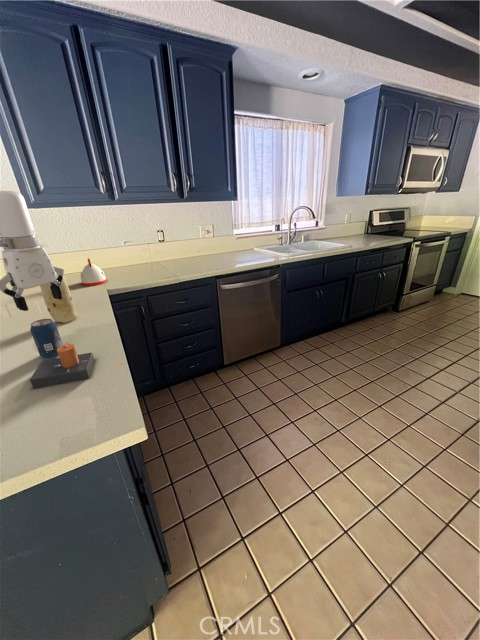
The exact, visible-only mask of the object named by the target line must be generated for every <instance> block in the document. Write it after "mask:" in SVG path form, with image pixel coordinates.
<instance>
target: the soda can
mask: <svg viewBox="0 0 480 640" xmlns="http://www.w3.org/2000/svg"><path fill="white" fill-rule="evenodd" d="M29 331H30V334H31V336H32V338H33V341H34V344H35V346H36V349H37V352H38V354H39V356H40V357H42V358H43V359H44V360H49V359H55V358H58V357H59V355H58V352H57V348H59V347H60V346H62V345H64V344H63V341H62V338H61V335H60V333H59V329H58V327H57V324H56V322H55V321H54V320H53V318H42V319H38V320H35V321H33V322H31V323H30V329H29Z"/></svg>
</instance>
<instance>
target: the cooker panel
mask: <svg viewBox="0 0 480 640" xmlns="http://www.w3.org/2000/svg"><path fill="white" fill-rule="evenodd" d="M77 355H78V359H79V363H78V364H77V365H75V366H73V367H69V368H64V367H63V366H62V364H61V361H60V358H59V357H55V358H50V359H44V360H41V361H40V363H39V364H38V366H37V367H36V369H35V371H34V372H33V373H32V375H31V377H30V378H29V381H30V384H31V386H32V389H38V388H43V387H49V386H53V385H59V384H65V383H70V382H74V381H80V380H85V379H89V378H90V376H91V373H92V370H93V367H94V364H95V357H94V354H93V352H87V353H80V354H77Z"/></svg>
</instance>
